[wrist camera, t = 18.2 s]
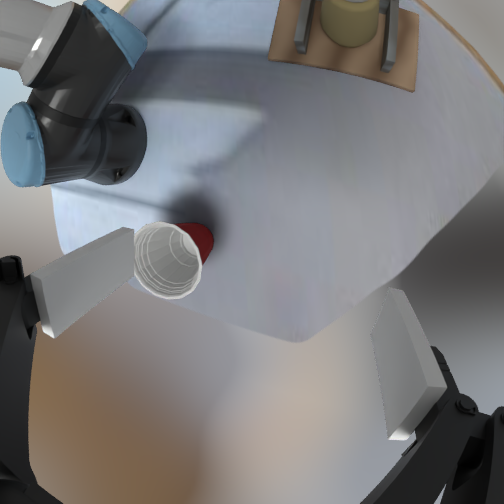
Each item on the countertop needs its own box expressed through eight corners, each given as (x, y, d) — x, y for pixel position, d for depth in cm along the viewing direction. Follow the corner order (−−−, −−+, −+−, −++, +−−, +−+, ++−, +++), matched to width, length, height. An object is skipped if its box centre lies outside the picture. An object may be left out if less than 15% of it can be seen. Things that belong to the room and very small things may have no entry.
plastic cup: (216, 282, 49) (185, 315, 38) (163, 254, 50) (123, 278, 39) (240, 225, 45) (211, 244, 34) (181, 197, 46) (139, 208, 35)
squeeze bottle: (332, 5, 31) (329, -67, 14) (381, 26, 30) (403, -40, 13) (312, 40, 34) (299, -28, 17) (362, 63, 33) (381, 2, 16)
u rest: (268, 60, 37) (260, 46, 31) (284, -11, 32) (277, -30, 26) (412, 92, 33) (424, 82, 27) (417, 17, 28) (426, 0, 23)
